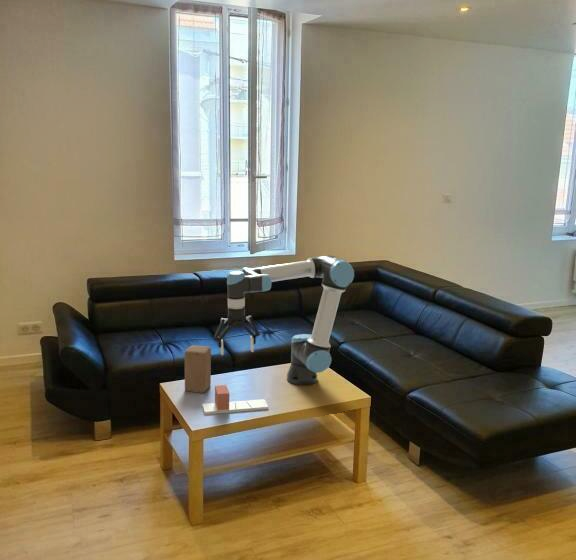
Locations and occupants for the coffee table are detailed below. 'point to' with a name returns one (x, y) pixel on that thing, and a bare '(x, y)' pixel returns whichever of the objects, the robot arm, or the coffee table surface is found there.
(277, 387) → the coffee table surface
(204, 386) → the wooden block
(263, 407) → the board
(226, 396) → the block
